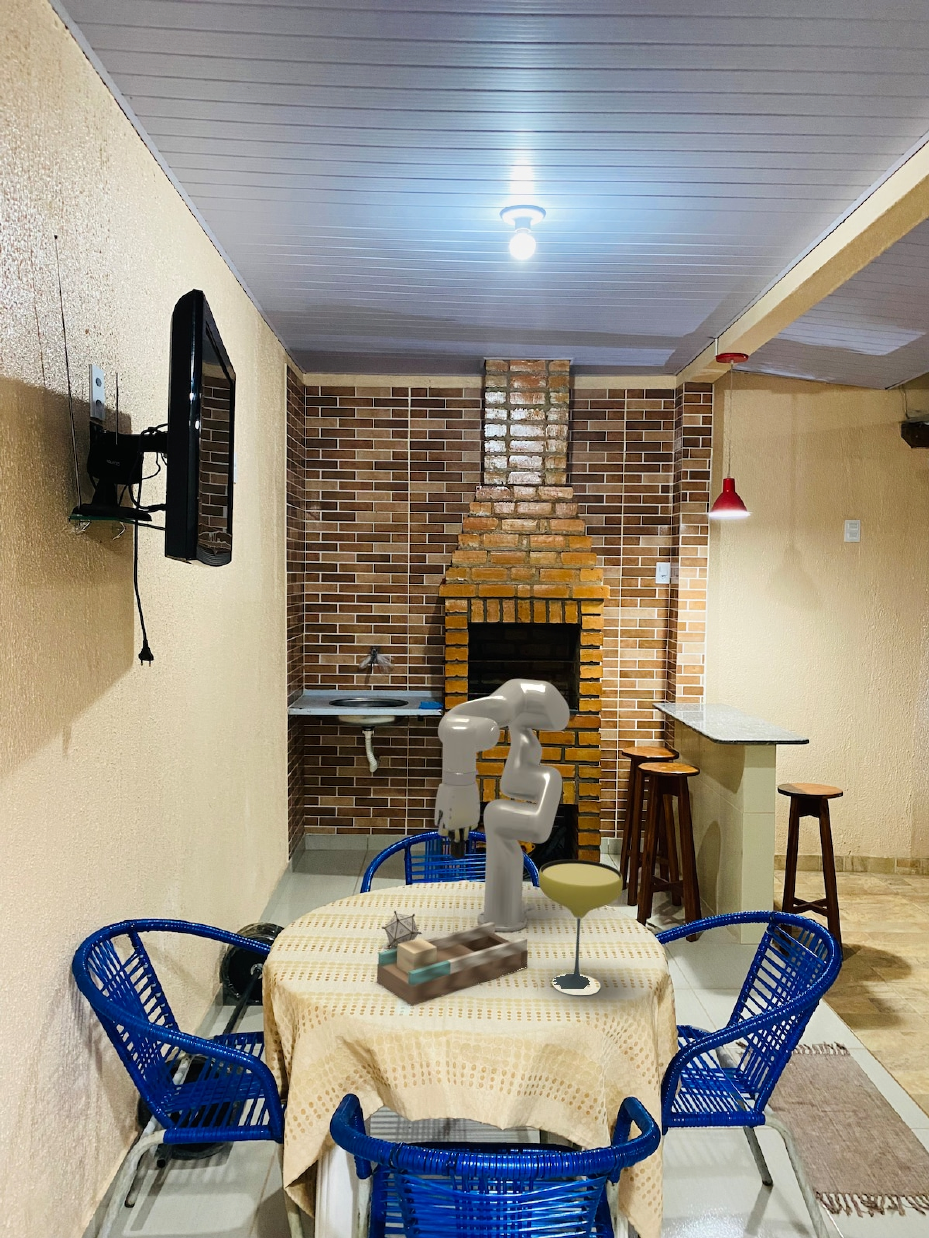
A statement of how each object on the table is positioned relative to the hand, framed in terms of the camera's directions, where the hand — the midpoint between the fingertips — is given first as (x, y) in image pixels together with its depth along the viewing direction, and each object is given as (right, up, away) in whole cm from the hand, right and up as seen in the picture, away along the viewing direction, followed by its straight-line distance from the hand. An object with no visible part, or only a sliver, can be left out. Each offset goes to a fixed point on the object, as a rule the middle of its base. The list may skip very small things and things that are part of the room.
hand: (457, 856), depth 208 cm
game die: (-13, -24, +9) cm, 29 cm away
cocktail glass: (+26, -26, -8) cm, 38 cm away
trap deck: (-1, -25, -5) cm, 25 cm away
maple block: (-9, -21, -12) cm, 25 cm away
